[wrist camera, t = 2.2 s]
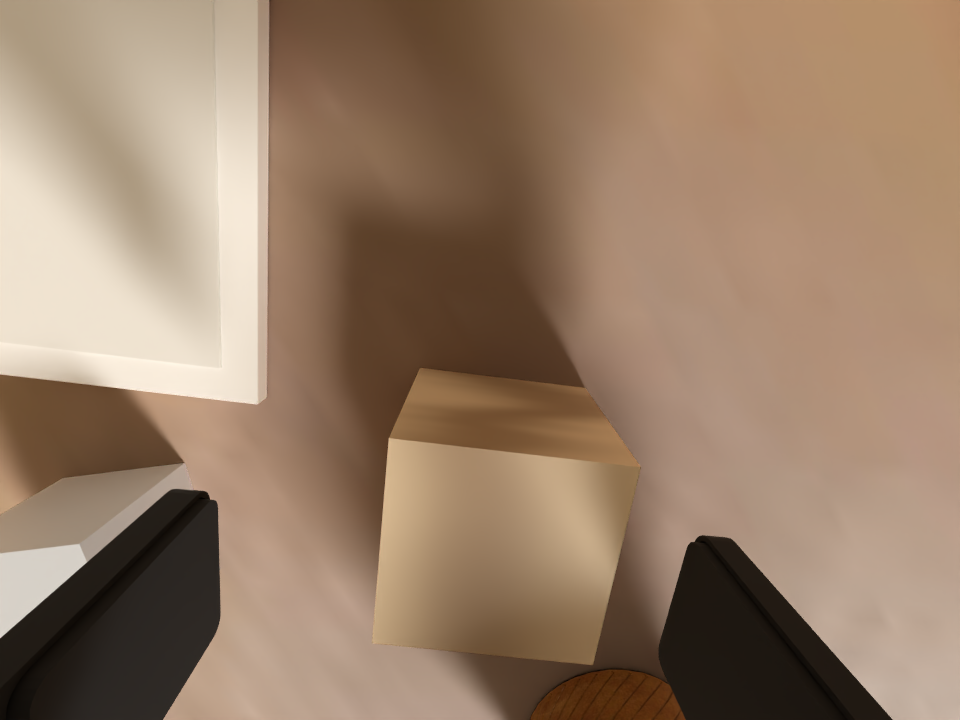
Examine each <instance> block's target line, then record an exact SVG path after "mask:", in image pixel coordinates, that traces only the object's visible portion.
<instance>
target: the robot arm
mask: <svg viewBox="0 0 960 720" xmlns="http://www.w3.org/2000/svg"><path fill="white" fill-rule="evenodd" d="M219 621H220V574H219V534H218V505H217V502H216V501H215V500H210V497H209V495H208V493H207V492H205V491H197V490H185V489H171V490H170V491H168V492H167V493H166V494H164V495H163V496H162V497H161V498H160V499H159V500H158V501H156V502H155V503H154V504H153V505H152V506H151V507H150V508H148V509H147V510H146V511H145V512H144V513H143V514H142V515H140V516H139V517H138V518H137V519H136V520H135V521H134V522H132V523H131V524H130V525H129V526H128V527H127V528H126V529H124V530H123V531H122V532H121V533H120V534H119V535H118V536H116V537H115V538H114V539H113V540H112V541H111V542H110V543H108V544H107V545H106V546H105V547H104V548H103V549H102V550H100V551H99V552H98V553H97V554H96V555H95V556H94V557H92V558H91V559H90V560H89V561H88V562H87V563H86V564H84V565H83V566H82V567H81V568H80V569H79V570H78V571H76V572H75V573H74V574H73V575H72V576H71V577H70V578H68V579H67V580H66V581H65V582H64V583H63V584H62V585H60V586H59V587H58V588H57V589H56V590H55V591H54V592H52V593H51V594H50V595H49V596H48V597H47V598H46V599H44V600H43V601H42V602H41V603H40V604H39V605H38V606H36V607H35V608H34V609H33V610H32V611H31V612H30V613H28V614H27V615H26V616H25V617H24V618H23V619H22V620H20V621H19V622H18V623H17V624H16V625H15V626H14V627H12V628H11V629H10V630H9V631H8V632H7V633H6V634H4V635H3V636H2V637H1V638H0V720H163V719H164V717H165V715H166V714H167V712H168V710H169V709H170V707H171V706H172V704H173V702H174V701H175V699H176V697H177V696H178V694H179V693H180V691H181V689H182V688H183V686H184V684H185V683H186V681H187V680H188V678H189V676H190V675H191V673H192V671H193V670H194V668H195V667H196V665H197V663H198V662H199V660H200V659H201V657H202V655H203V654H204V652H205V650H206V649H207V647H208V646H209V644H210V642H211V641H212V639H213V637H214V635H215V633H216V631H217V628H218V625H219ZM659 660H660V664H661V667H662V669H663V672H664V674H665V676H666V678H667V680H668V682H669V685H670V687H671V689H672V691H673V693H674V695H675V698H676V700H677V702H678V704H679V706H680V708H681V711H682V713H683V715H684V717H685V719H686V720H892V719H891V717H890V716H889V715H888V714H887V713H886V712H885V711H884V710H883V708H882V707H881V706H880V705H879V704H878V703H877V702H876V701H875V699H874V698H873V697H872V696H871V695H870V694H869V693H868V691H867V690H866V689H865V688H864V687H863V686H862V685H861V684H860V682H859V681H858V680H857V679H856V678H855V677H854V676H853V675H852V673H851V672H850V671H849V670H848V669H847V668H846V667H845V666H844V664H843V663H842V662H841V661H840V660H839V659H838V658H837V657H836V655H835V654H834V653H833V652H832V651H831V650H830V649H829V648H828V646H827V645H826V644H825V643H824V642H823V641H822V640H821V639H820V637H819V636H818V635H817V634H816V633H815V632H814V631H813V630H812V628H811V627H810V626H809V625H808V624H807V623H806V622H805V621H804V619H803V618H802V617H801V616H800V615H799V614H798V613H797V612H796V610H795V609H794V608H793V607H792V606H791V605H790V604H789V603H788V601H787V600H786V599H785V598H784V597H783V596H782V595H781V594H780V592H779V591H778V590H777V589H776V588H775V587H774V586H773V585H772V583H771V582H770V581H769V580H768V579H767V578H766V577H765V576H764V574H763V573H762V572H761V571H760V570H759V569H758V568H757V567H756V565H755V564H754V563H753V562H752V561H751V560H750V559H749V558H748V556H747V555H746V554H745V553H744V552H743V551H742V550H741V548H740V547H739V546H738V545H737V544H736V543H735V542H734V541H733V540H732V539H730V538H725V537H714V536H703V535H702V536H699V537H698V538H697V539H696V540H695V542H691V543H690V544H689V545H688V547H687V550H686V553H685V557H684V560H683V564H682V567H681V571H680V574H679V577H678V581H677V584H676V588H675V591H674V595H673V598H672V602H671V605H670V609H669V612H668V616H667V619H666V623H665V626H664V630H663V633H662V637H661V640H660V644H659Z"/></svg>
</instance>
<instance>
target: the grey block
mask: <svg viewBox="0 0 960 720" xmlns="http://www.w3.org/2000/svg"><path fill="white" fill-rule="evenodd" d="M171 489H185V490H194V489H193V486H192V483H191V480H190V477H189V474H188V471H187V468H186V465H185V463H179V464H171V465H163V466H155V467H147V468H139V469H131V470H123V471H115V472H107V473H99V474H91V475H83V476H75V477H67V478H62V479H60V480H59V481H57V482H55V483H54V484H52V485H50V486H48V487H47V488H45V489H43V490H42V491H40V492H38V493H36V494H35V495H33V496H31V497H30V498H28V499H26V500H24V501H23V502H21V503H19V504H18V505H16V506H14V507H12V508H11V509H9V510H7V511H5V512H4V513H2V514H0V638H1V637H2V636H3V635H4V634H6V633H7V632H8V631H9V630H10V629H11V628H12V627H14V626H15V625H16V624H17V623H18V622H19V621H20V620H22V619H23V618H24V617H25V616H26V615H27V614H28V613H30V612H31V611H32V610H33V609H34V608H35V607H36V606H38V605H39V604H40V603H41V602H42V601H43V600H44V599H46V598H47V597H48V596H49V595H50V594H51V593H52V592H54V591H55V590H56V589H57V588H58V587H59V586H60V585H62V584H63V583H64V582H65V581H66V580H67V579H68V578H70V577H71V576H72V575H73V574H74V573H75V572H76V571H78V570H79V569H80V568H81V567H82V566H83V565H84V564H86V563H87V562H88V561H89V560H90V559H91V558H92V557H94V556H95V555H96V554H97V553H98V552H99V551H100V550H102V549H103V548H104V547H105V546H106V545H107V544H108V543H110V542H111V541H112V540H113V539H114V538H115V537H116V536H118V535H119V534H120V533H121V532H122V531H123V530H124V529H126V528H127V527H128V526H129V525H130V524H131V523H132V522H134V521H135V520H136V519H137V518H138V517H139V516H140V515H142V514H143V513H144V512H145V511H146V510H147V509H148V508H150V507H151V506H152V505H153V504H154V503H155V502H156V501H158V500H159V499H160V498H161V497H162V496H163V495H164V494H166V493H167V492H168V491H170V490H171ZM219 570H220V566H219Z"/></svg>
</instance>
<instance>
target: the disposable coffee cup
mask: <svg viewBox="0 0 960 720" xmlns="http://www.w3.org/2000/svg"><path fill="white" fill-rule="evenodd" d="M530 720H686V719H685V717H684V715H683V713H682V711H681V708H680V706H679V704H678V702H677V700H676V698H675V695H674V693H673V691H672V689H671V687H670V685H669V684H667V683H665V682H664V681H662V680H660V679H659V678H656V677H654V676H651V675H648V674H645V673H642V672H635V671H629V670H604V671H598V672H591V673H587V674H584V675H581V676H578V677H575V678H573V679H571V680H569V681H567V682H564V683H562V684H561V685H559V686H558V687H557V688H555V689H554V690H552V691H551V692H550V693H548V694H547V695H546V697H545V698H544V699H543V700H542V701H541V702H540V703H539V704H538V706H537V707H536V709H535V710H534V712H533V714H532V715H531V719H530Z"/></svg>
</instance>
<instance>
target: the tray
mask: <svg viewBox="0 0 960 720" xmlns="http://www.w3.org/2000/svg"><path fill="white" fill-rule="evenodd" d="M268 139H269V0H0V374H2V375H11V376H19V377H28V378H36V379H45V380H53V381H62V382H70V383H79V384H87V385H96V386H104V387H113V388H121V389H130V390H138V391H147V392H155V393H164V394H173V395H181V396H190V397H198V398H207V399H215V400H224V401H232V402H241V403H249V404H259V403H260V402H262V401H263V400H264V399H266V398H267V305H268Z"/></svg>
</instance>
